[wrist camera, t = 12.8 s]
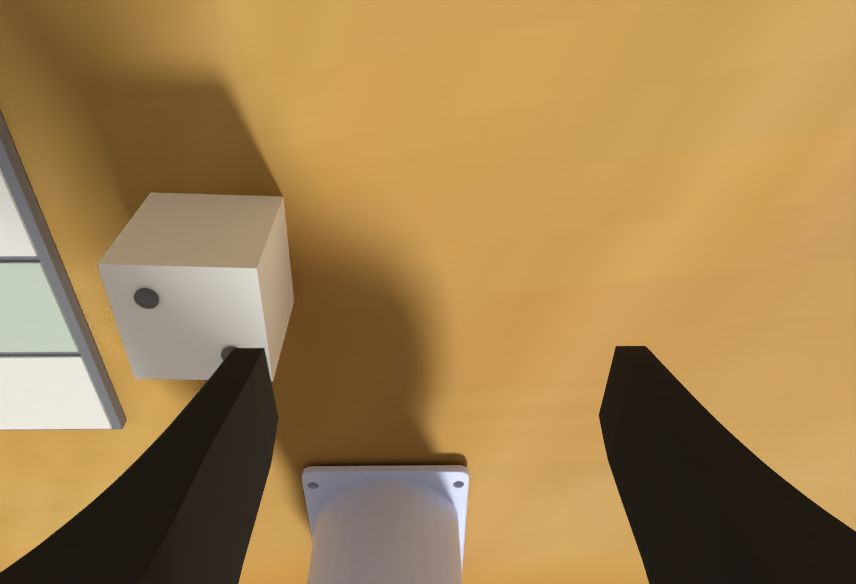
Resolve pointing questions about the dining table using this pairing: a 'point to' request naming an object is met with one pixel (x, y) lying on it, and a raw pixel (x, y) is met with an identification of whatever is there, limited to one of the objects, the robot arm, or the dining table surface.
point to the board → (43, 323)
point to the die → (200, 282)
